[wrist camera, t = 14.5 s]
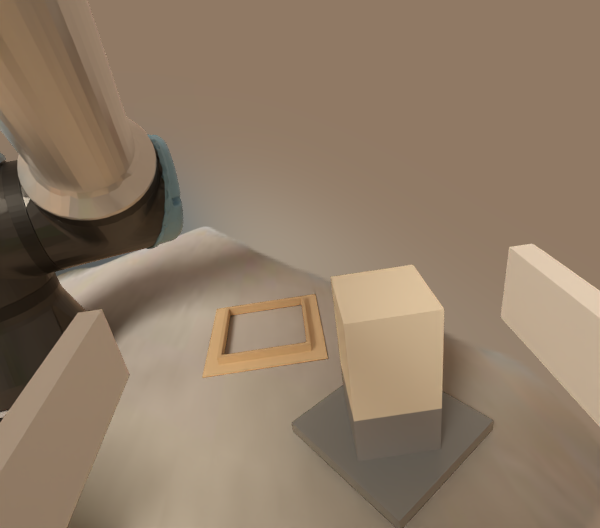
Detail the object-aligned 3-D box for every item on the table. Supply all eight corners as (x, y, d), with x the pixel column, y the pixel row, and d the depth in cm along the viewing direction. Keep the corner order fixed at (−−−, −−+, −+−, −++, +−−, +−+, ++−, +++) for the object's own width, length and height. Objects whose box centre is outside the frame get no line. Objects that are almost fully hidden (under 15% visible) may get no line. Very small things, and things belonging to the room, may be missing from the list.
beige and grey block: (358, 461, 30) (343, 324, 24) (344, 399, 35) (330, 276, 30) (440, 449, 29) (444, 309, 24) (414, 389, 35) (412, 264, 30)
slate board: (293, 431, 34) (291, 422, 33) (382, 364, 40) (381, 356, 39) (399, 531, 26) (399, 521, 25) (492, 429, 32) (493, 420, 31)
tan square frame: (202, 377, 41) (200, 370, 41) (217, 309, 53) (215, 303, 52) (327, 358, 41) (326, 350, 41) (315, 294, 53) (314, 288, 52)
